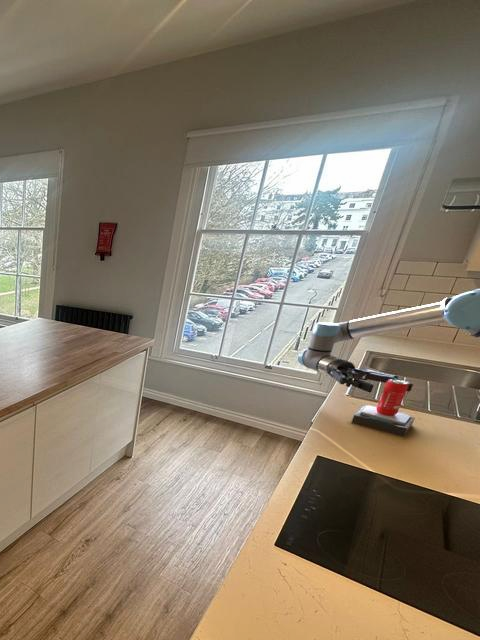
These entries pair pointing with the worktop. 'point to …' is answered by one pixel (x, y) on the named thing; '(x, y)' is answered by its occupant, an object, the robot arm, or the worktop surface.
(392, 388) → the beverage can
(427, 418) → the worktop surface
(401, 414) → the scale
